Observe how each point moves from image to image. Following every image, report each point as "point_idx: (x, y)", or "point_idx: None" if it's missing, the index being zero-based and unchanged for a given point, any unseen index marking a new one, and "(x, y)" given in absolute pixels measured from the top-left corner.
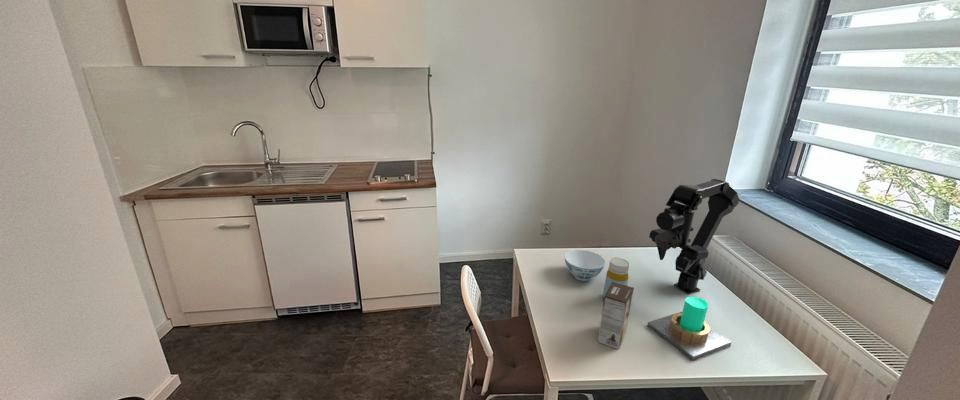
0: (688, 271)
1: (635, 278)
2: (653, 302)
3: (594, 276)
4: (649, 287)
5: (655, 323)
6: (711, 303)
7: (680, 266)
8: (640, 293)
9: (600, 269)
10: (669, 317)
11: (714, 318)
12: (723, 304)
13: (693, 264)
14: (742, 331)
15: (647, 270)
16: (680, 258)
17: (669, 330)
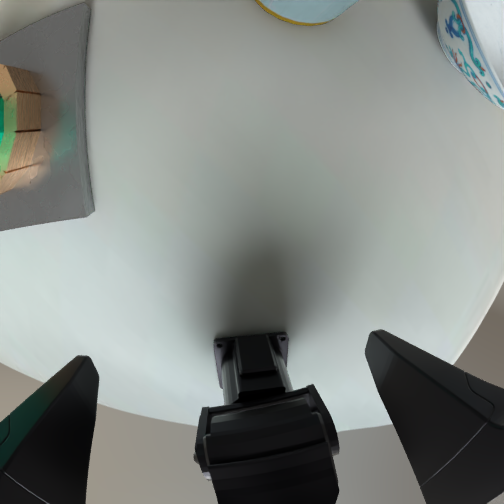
0: (236, 416)
1: (393, 222)
2: (211, 144)
3: (440, 21)
4: (320, 226)
5: (64, 27)
6: (145, 364)
7: (285, 412)
8: (299, 142)
9: (460, 20)
10: (65, 109)
11: (65, 306)
12: (136, 387)
13: (216, 465)
14: (17, 323)
15: (399, 309)
16: (307, 450)
17: (19, 61)
